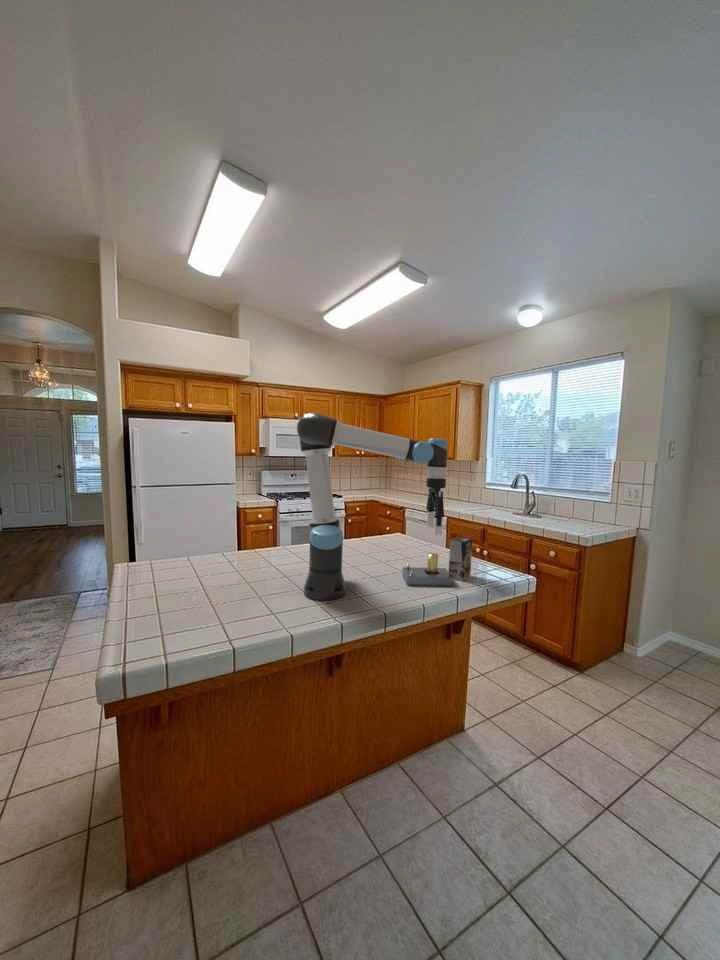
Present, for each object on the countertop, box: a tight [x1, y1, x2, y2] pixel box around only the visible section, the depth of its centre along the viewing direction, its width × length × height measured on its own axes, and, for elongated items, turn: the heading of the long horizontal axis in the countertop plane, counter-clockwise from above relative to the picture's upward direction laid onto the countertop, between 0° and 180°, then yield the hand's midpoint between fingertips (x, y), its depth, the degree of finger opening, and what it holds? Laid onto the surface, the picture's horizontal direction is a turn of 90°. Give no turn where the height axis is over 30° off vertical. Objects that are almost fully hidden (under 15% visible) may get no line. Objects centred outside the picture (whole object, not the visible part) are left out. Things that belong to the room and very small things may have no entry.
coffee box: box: [448, 536, 473, 582], centre depth 161 cm, size 9×6×16 cm
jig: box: [401, 563, 454, 587], centre depth 155 cm, size 18×12×5 cm, turn 92°
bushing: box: [426, 552, 439, 574], centre depth 155 cm, size 4×4×11 cm
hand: (433, 530), depth 154 cm, fingers open, 13 cm apart
